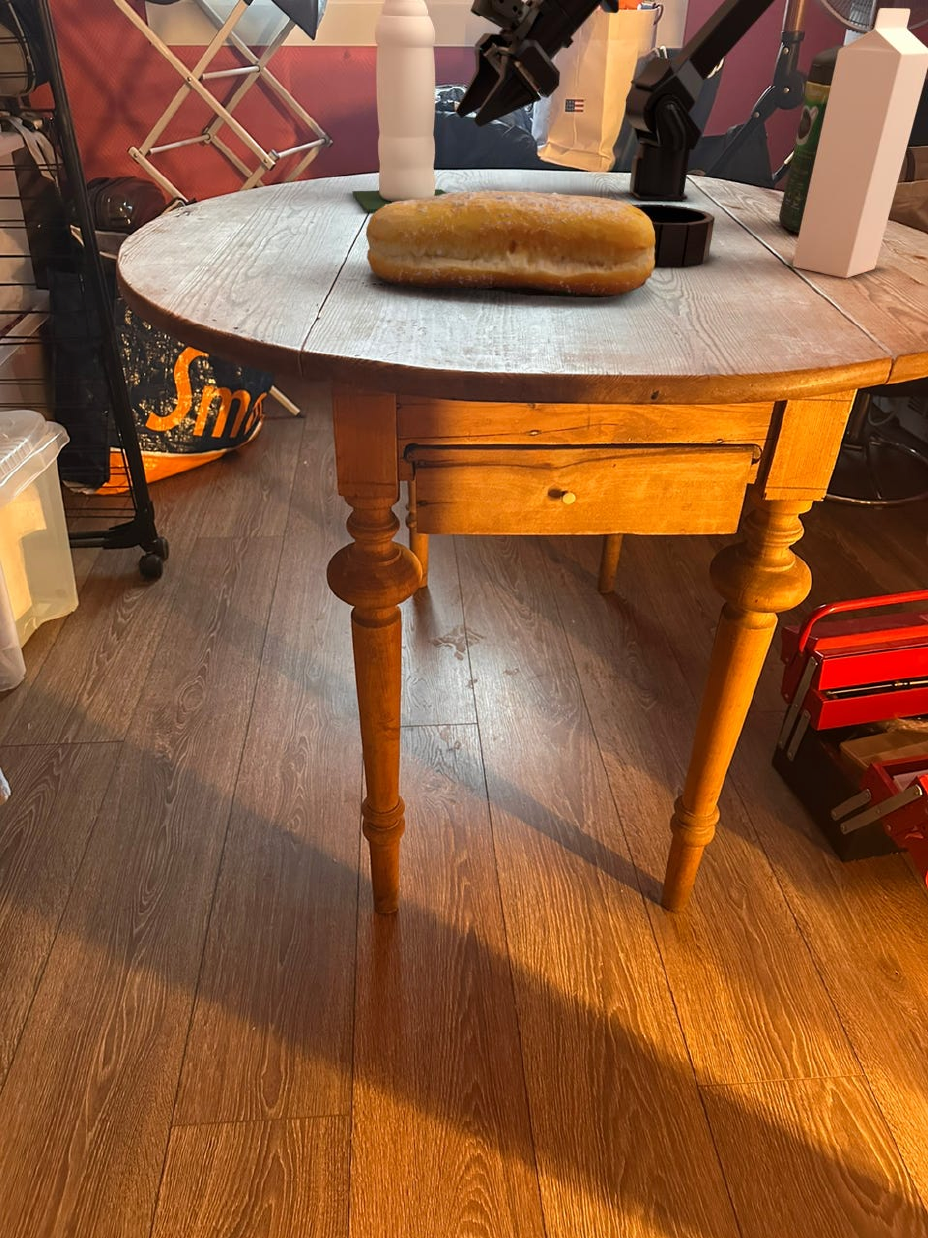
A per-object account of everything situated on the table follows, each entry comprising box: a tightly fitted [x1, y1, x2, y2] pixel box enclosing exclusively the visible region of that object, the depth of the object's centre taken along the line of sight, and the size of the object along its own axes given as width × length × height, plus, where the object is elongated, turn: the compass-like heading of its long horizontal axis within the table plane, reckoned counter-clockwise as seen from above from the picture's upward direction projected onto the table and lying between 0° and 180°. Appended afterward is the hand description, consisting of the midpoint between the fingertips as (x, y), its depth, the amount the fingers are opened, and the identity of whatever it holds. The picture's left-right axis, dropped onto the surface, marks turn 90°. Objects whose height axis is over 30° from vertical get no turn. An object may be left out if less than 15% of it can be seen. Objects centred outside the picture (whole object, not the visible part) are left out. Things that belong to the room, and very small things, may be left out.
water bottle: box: [374, 0, 437, 202], centre depth 110 cm, size 7×7×25 cm
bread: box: [365, 189, 655, 299], centre depth 83 cm, size 13×26×8 cm, turn 84°
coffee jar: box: [778, 44, 847, 234], centre depth 103 cm, size 10×8×19 cm
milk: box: [792, 7, 928, 279], centre depth 87 cm, size 6×6×22 cm
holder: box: [631, 203, 716, 268], centre depth 95 cm, size 10×10×4 cm
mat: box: [352, 188, 448, 214], centre depth 117 cm, size 12×12×1 cm
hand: (466, 119), depth 113 cm, fingers open, 9 cm apart
